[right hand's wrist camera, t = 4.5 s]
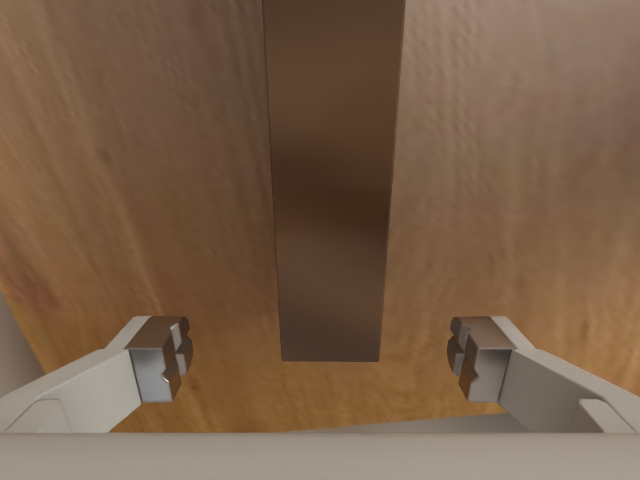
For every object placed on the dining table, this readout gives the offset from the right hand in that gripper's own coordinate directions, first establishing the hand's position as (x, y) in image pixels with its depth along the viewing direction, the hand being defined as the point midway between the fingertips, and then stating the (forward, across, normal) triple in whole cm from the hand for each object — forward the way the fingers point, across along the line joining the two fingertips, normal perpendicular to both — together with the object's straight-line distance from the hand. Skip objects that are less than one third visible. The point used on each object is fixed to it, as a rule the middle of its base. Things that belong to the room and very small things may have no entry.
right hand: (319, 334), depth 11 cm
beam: (+12, 0, -27) cm, 29 cm away
